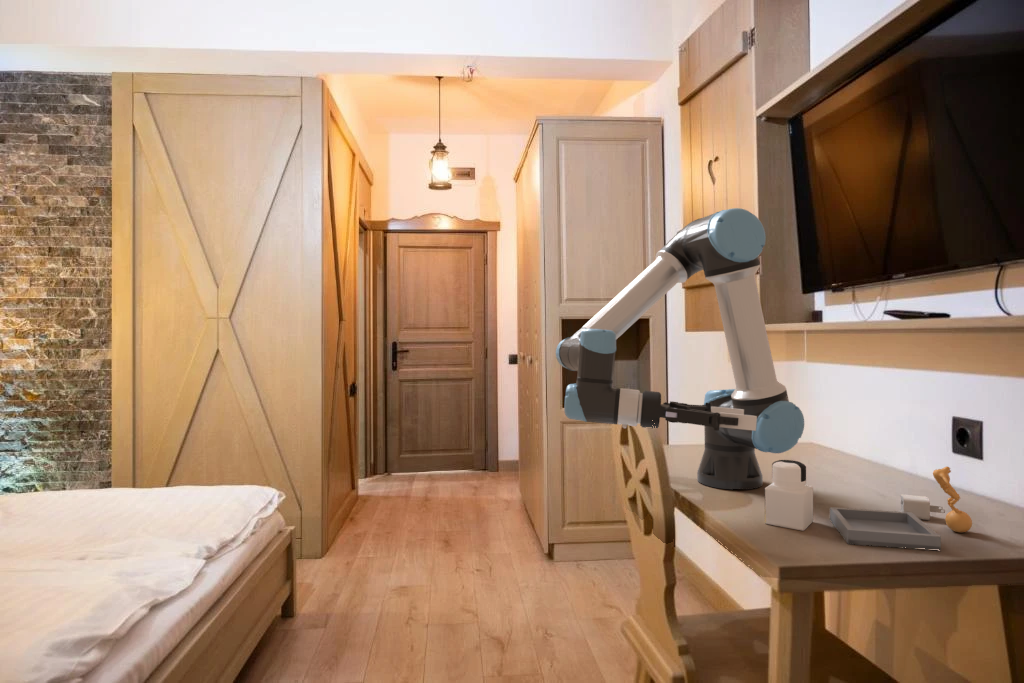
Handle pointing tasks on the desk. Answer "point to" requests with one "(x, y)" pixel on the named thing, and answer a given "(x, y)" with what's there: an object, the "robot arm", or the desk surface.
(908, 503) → the usb wall charger
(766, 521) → the medicine bottle
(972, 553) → the desk surface
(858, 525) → the tray
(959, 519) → the figurine
